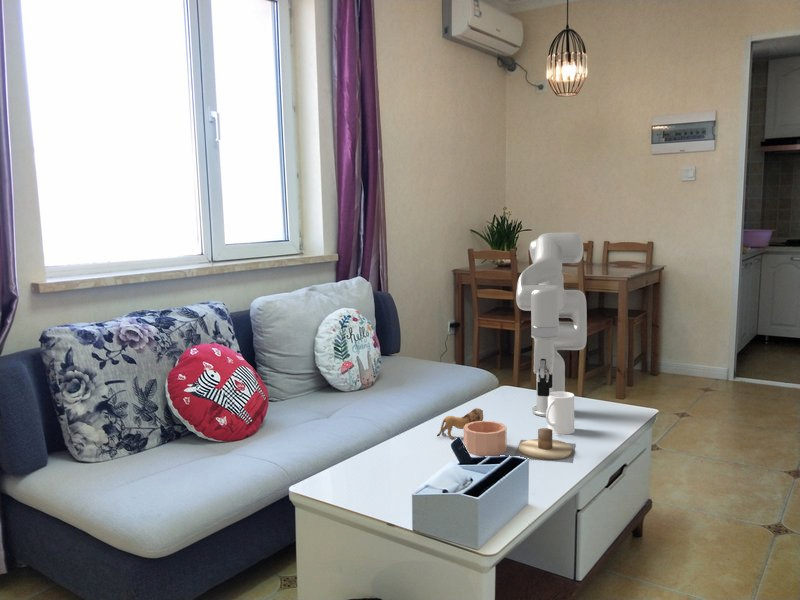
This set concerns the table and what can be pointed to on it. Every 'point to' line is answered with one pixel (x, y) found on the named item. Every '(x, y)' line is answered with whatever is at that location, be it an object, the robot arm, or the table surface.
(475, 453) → the bowl
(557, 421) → the mug
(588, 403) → the table surface
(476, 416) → the lion figurine
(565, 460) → the mat
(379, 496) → the table surface
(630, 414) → the table surface
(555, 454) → the lid
